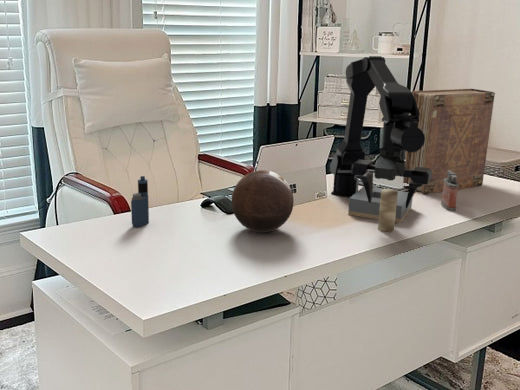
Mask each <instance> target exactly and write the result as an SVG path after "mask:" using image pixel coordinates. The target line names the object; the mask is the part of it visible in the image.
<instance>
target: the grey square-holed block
mask: <svg viewBox="0 0 520 390" xmlns="http://www.w3.org/2000/svg"><path fill="white" fill-rule="evenodd" d="M383 189H384V188H379V187H374V186H373V191H372V201H371V203H369V202H368V198H367V194H366V191H365V187H364V185H363V186H362V187H361V188H360V189H358V191H357V192H356V193H355V194H354V195H353V196H352V197H349V198H348V199H349V200H348V213H347V214H348V215H350V216H357V217H363V218H369V219H375V220H379V211H380V200H381V190H383ZM397 191H398V195H397V206H396V216H395V223H398V224H399V223H402V221H403V220H404V219H405V217H406V216H407V214H409V212H410V211H411V210H412V208H413V207H412V206H413V205H412V204H413V199H412V200H411V202H410V204H409V206H408V208H406V200H407V195H408V191H401V190H397Z"/></svg>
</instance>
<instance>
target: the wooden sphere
mask: <svg viewBox="0 0 520 390" xmlns="http://www.w3.org/2000/svg"><path fill="white" fill-rule="evenodd" d="M294 202H295V201H294V193H293V191H292V188H291V186H290V184H289V183H288V182H287V180H286V179H285V178H284V177H282V176H281V175H280V174H278V173H276V172H273V171H270V170H265V169H264V170H263V169H261V170H260V169H259V170H254V171H252V172H249V173H247V174H245V175H244V176H243V177H241V178H240V179H239V180H238V182H237V183H236V184H235V187H234V188H233V191H232V195H231V209H232V212H233V214H234V216H235V219H236V220H237V221H238V222H239V223H240V224H241V226H243V227H245V228H246V229H248V230H250V231H252V232H255V233H268V232H273V231H275V230H278V229H279V228H281V227H282V226H283V225H284V224H286V222H287V221H288V219H289V218H290V217H291V215H292V212H293V209H294Z"/></svg>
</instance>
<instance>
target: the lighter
mask: <svg viewBox="0 0 520 390" xmlns="http://www.w3.org/2000/svg"><path fill="white" fill-rule="evenodd" d="M447 175H448V176H449V177H448V178H444V188H443V192H442V196H441V199H440V205H441V207H442V208H443V209H445V211H448V212H456V211H457V200H458V192H459V189H458V188H459V183H458V182H457V181H456V179H457V176H456V173H453V172H452V171H447Z"/></svg>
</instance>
